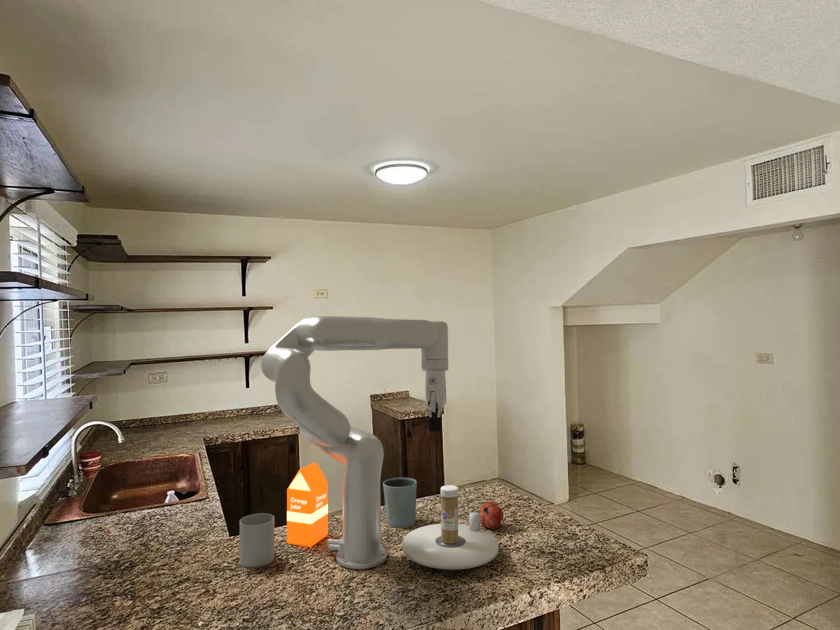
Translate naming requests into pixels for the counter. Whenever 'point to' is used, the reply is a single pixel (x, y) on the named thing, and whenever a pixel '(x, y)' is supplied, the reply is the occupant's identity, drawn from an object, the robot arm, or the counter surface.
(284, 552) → the counter surface
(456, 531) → the sprinkles bottle
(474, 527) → the turntable
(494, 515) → the pomegranate
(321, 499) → the orange juice
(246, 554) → the cup
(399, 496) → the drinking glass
